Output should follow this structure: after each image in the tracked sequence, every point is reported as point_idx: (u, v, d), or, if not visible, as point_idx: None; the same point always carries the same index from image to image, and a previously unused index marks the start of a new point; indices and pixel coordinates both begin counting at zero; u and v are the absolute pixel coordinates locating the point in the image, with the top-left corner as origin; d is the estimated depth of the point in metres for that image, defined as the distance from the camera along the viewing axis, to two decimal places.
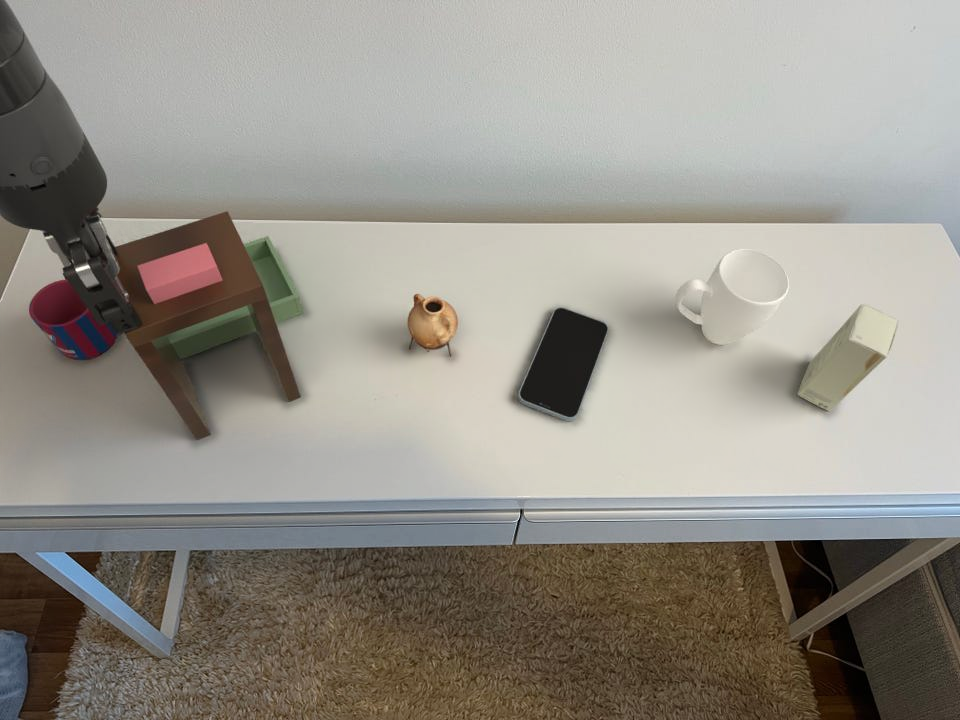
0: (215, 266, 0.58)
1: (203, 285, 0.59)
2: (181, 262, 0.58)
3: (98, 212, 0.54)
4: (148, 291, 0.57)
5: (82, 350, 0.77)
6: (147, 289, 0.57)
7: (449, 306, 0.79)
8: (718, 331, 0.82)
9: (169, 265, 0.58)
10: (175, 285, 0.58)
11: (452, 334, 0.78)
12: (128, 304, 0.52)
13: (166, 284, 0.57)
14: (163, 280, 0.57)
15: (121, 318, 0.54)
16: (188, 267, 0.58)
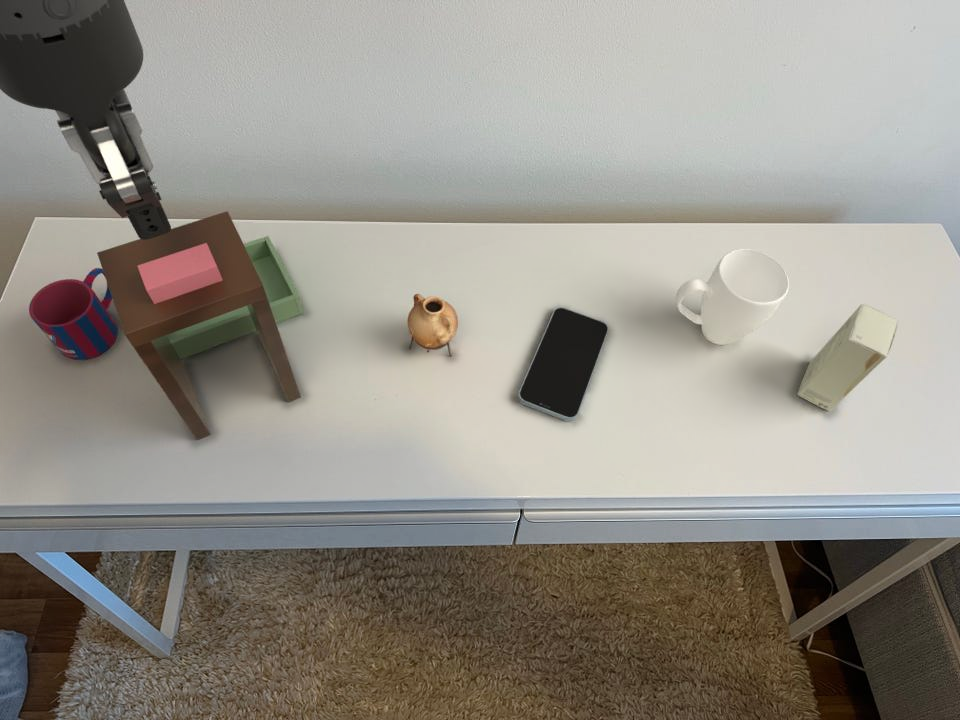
0: (215, 266, 0.58)
1: (203, 285, 0.59)
2: (181, 262, 0.58)
3: None
4: (148, 291, 0.57)
5: (82, 350, 0.77)
6: (147, 289, 0.57)
7: (449, 306, 0.79)
8: (718, 331, 0.82)
9: (169, 265, 0.58)
10: (175, 285, 0.58)
11: (452, 334, 0.78)
12: (157, 193, 0.42)
13: (166, 284, 0.57)
14: (163, 280, 0.57)
15: (147, 216, 0.45)
16: (188, 267, 0.58)
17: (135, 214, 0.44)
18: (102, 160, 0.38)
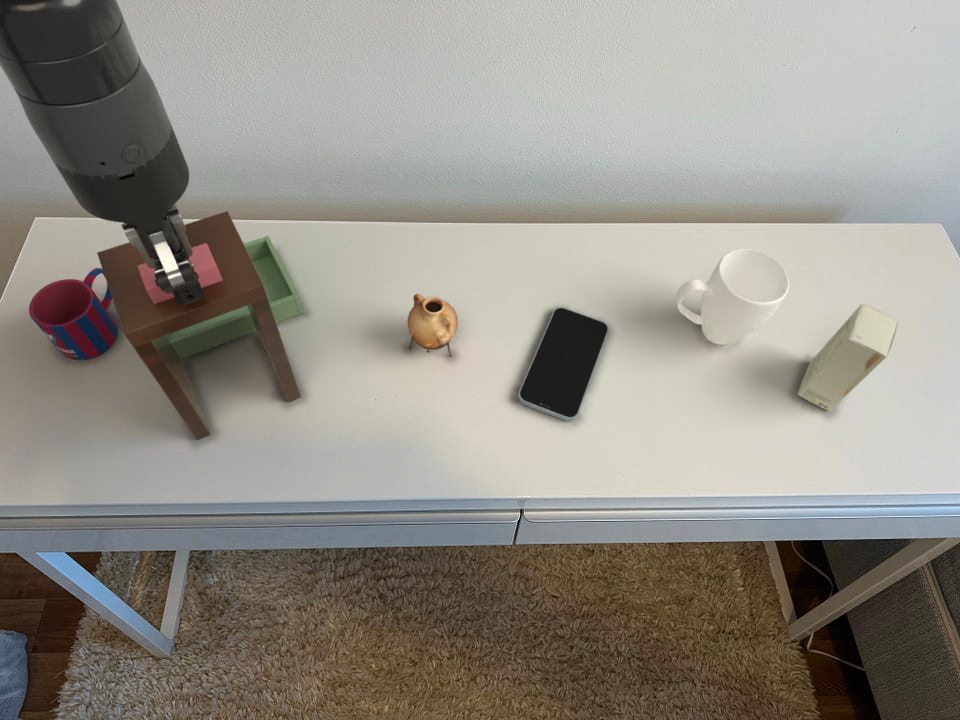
0: (215, 266, 0.58)
1: (203, 285, 0.59)
2: None
3: None
4: (148, 291, 0.57)
5: (82, 350, 0.77)
6: (147, 289, 0.57)
7: (449, 306, 0.79)
8: (718, 331, 0.82)
9: None
10: None
11: (452, 334, 0.78)
12: (196, 273, 0.53)
13: None
14: None
15: (186, 288, 0.55)
16: None
17: None
18: (156, 254, 0.48)
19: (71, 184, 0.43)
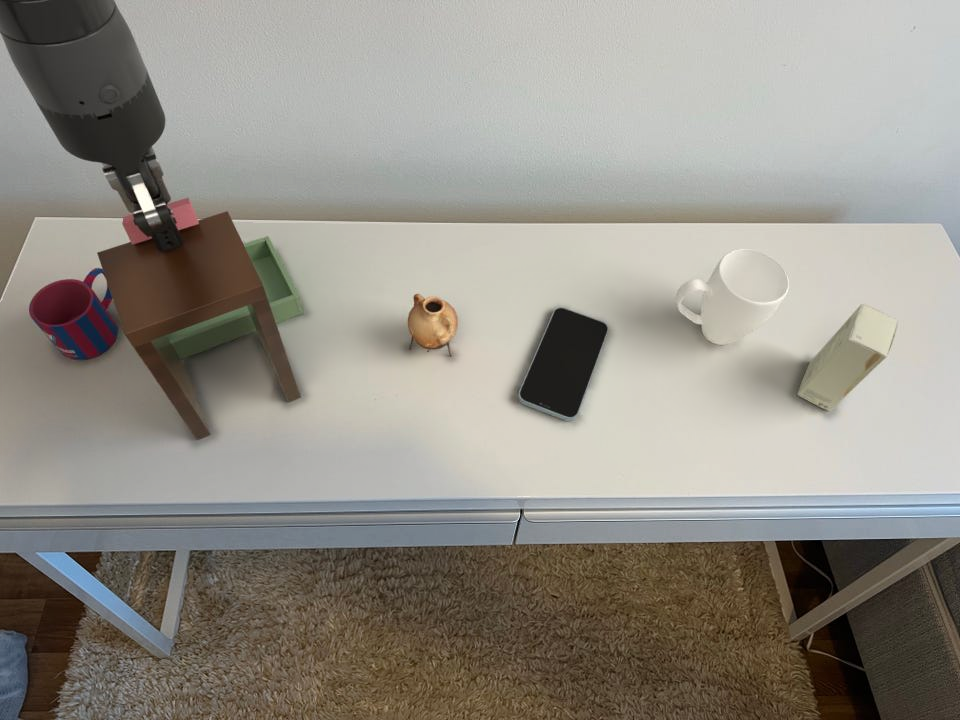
0: (189, 203, 0.61)
1: (179, 227, 0.62)
2: None
3: None
4: (124, 225, 0.60)
5: (82, 350, 0.77)
6: (123, 223, 0.60)
7: (449, 306, 0.79)
8: (718, 331, 0.82)
9: None
10: None
11: (452, 334, 0.78)
12: (174, 218, 0.56)
13: None
14: None
15: (165, 235, 0.58)
16: None
17: (156, 233, 0.58)
18: (134, 196, 0.51)
19: (53, 124, 0.46)
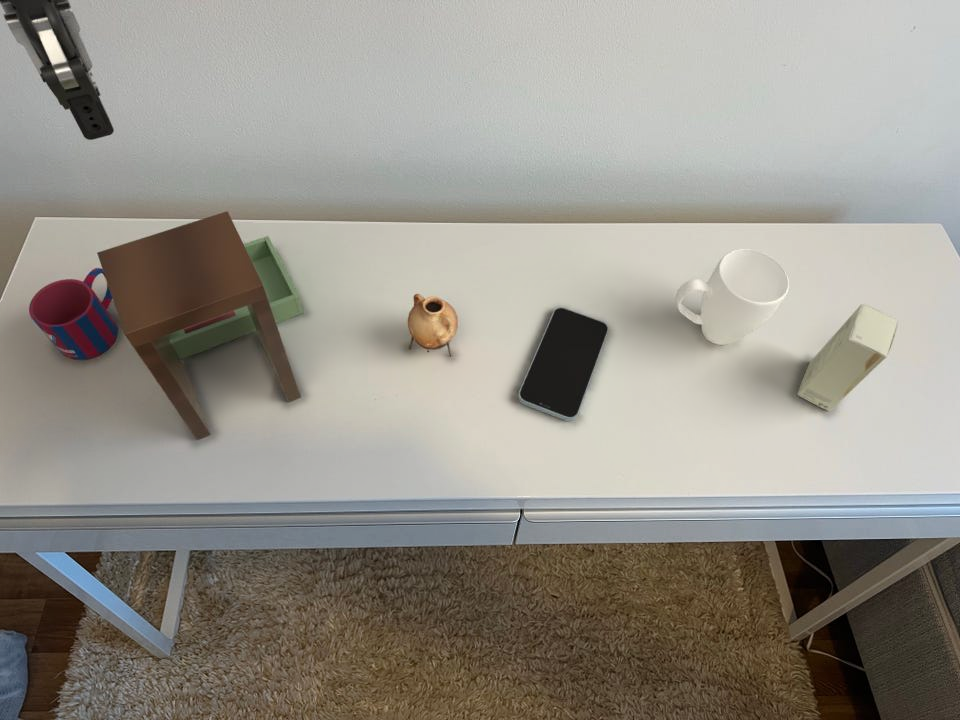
0: None
1: None
2: None
3: None
4: None
5: (82, 350, 0.77)
6: None
7: (449, 306, 0.79)
8: (718, 331, 0.82)
9: None
10: None
11: (452, 334, 0.78)
12: (96, 89, 0.48)
13: None
14: None
15: (89, 114, 0.50)
16: None
17: (78, 111, 0.50)
18: (43, 50, 0.44)
19: None
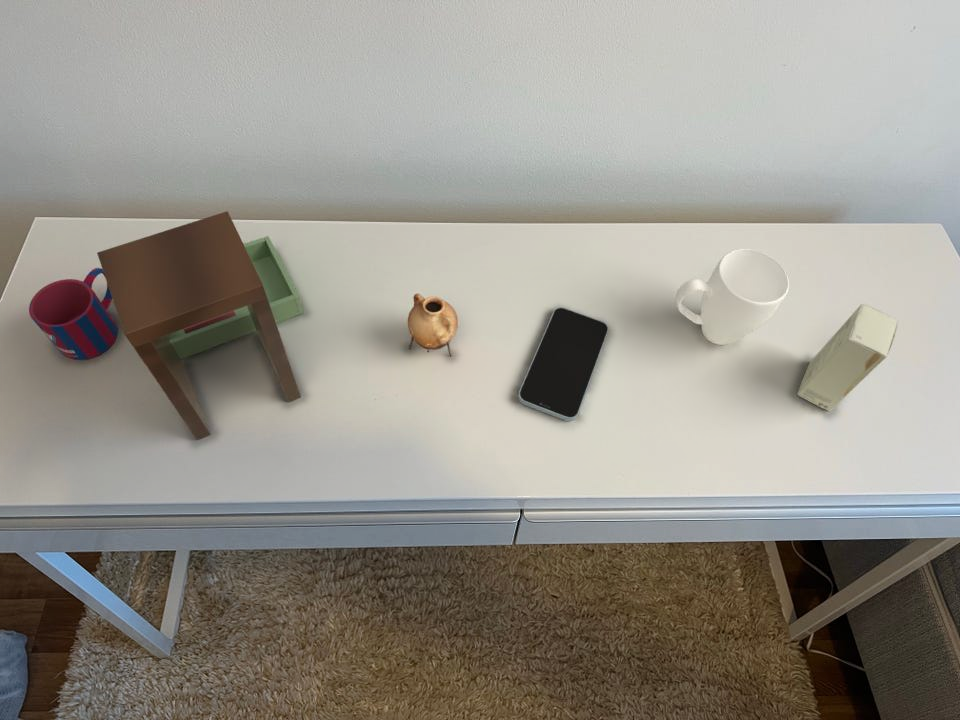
0: None
1: None
2: None
3: None
4: None
5: (82, 350, 0.77)
6: None
7: (449, 306, 0.79)
8: (718, 331, 0.82)
9: None
10: None
11: (452, 334, 0.78)
12: None
13: None
14: None
15: None
16: None
17: None
18: None
19: None
